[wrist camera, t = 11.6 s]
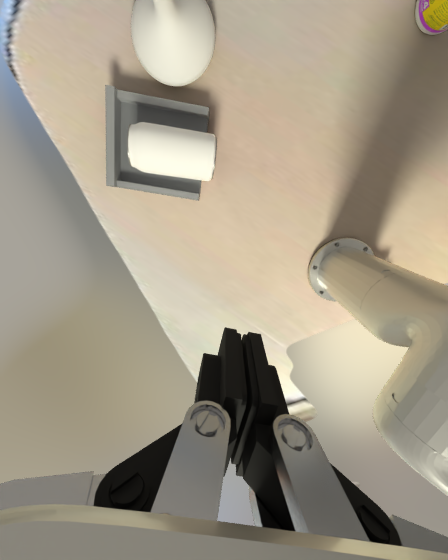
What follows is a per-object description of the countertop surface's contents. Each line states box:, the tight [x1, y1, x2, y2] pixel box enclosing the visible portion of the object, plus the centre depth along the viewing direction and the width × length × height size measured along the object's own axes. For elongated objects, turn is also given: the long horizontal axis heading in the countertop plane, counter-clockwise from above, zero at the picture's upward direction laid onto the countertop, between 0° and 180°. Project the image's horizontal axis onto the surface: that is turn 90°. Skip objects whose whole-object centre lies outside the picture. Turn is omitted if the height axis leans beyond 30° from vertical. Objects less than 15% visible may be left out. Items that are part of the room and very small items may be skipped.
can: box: [127, 122, 217, 181], centre depth 36 cm, size 6×6×12 cm
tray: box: [105, 85, 209, 200], centre depth 37 cm, size 14×13×4 cm
